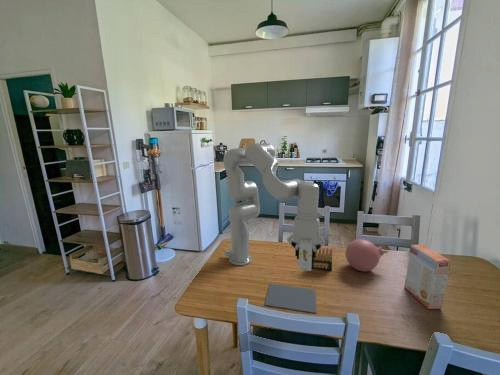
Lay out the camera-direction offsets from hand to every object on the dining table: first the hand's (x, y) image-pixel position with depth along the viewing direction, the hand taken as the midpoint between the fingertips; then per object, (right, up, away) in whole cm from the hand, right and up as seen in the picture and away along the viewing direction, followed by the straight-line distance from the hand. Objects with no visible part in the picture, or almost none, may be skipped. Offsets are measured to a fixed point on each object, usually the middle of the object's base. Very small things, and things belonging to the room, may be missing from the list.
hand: (305, 258), depth 95 cm
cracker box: (+50, -18, +5) cm, 53 cm away
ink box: (0, -3, +1) cm, 3 cm away
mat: (-5, -18, +5) cm, 19 cm away
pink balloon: (+36, -13, +26) cm, 47 cm away
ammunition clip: (+14, -13, +26) cm, 32 cm away
